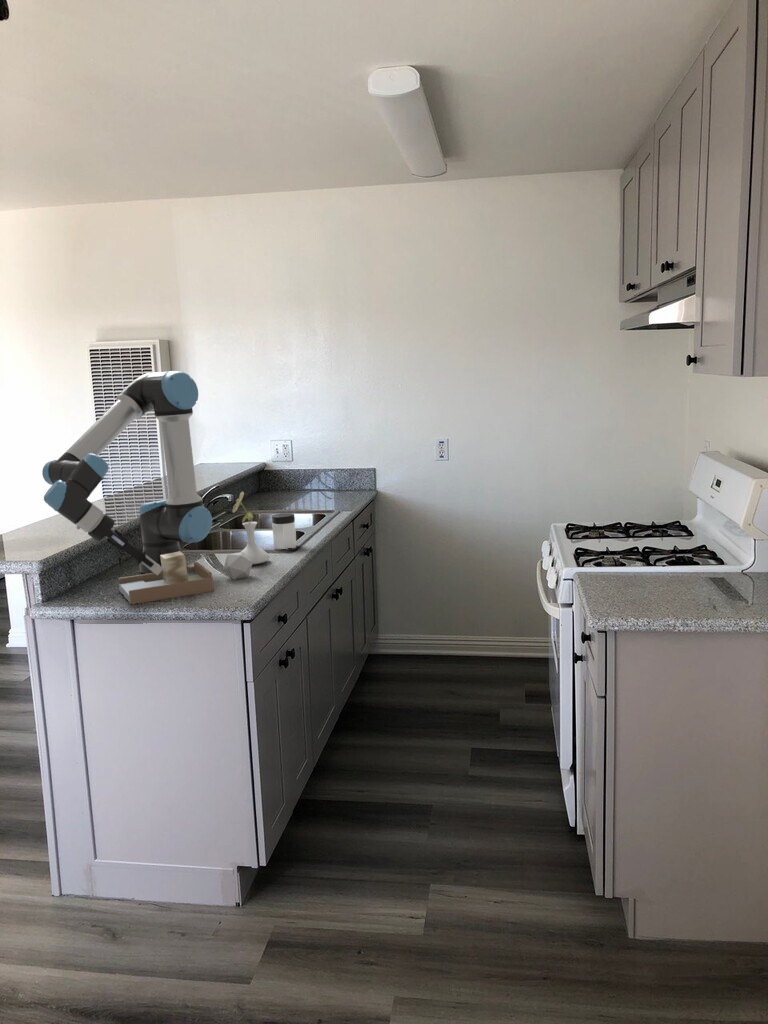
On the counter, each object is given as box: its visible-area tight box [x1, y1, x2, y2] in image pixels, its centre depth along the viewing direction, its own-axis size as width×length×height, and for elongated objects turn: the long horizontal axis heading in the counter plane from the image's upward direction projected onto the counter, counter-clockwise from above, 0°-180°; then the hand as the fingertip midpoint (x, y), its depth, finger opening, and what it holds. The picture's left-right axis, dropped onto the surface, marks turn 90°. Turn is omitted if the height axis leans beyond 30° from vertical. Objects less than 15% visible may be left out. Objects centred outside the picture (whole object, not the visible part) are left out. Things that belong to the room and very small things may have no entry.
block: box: [160, 551, 188, 584], centre depth 246 cm, size 6×6×8 cm
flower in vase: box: [231, 491, 270, 566], centre depth 274 cm, size 13×11×25 cm
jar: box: [271, 512, 297, 550], centre depth 299 cm, size 9×8×12 cm
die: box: [222, 551, 253, 581], centre depth 257 cm, size 8×9×10 cm
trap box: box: [118, 561, 214, 605], centre depth 245 cm, size 24×18×6 cm
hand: (160, 571), depth 244 cm, fingers closed
